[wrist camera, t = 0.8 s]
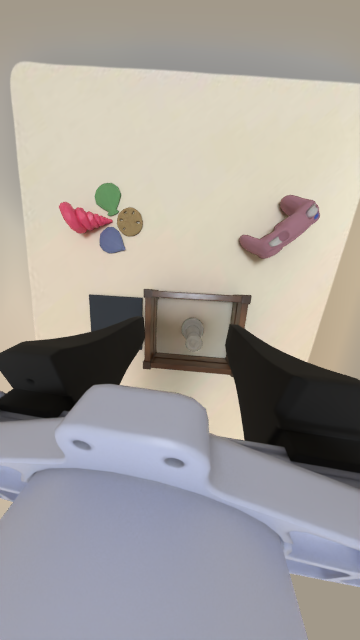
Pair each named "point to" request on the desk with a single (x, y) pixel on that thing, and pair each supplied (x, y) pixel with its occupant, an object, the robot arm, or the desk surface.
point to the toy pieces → (109, 201)
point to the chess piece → (193, 333)
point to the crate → (185, 360)
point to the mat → (112, 310)
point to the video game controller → (284, 227)
